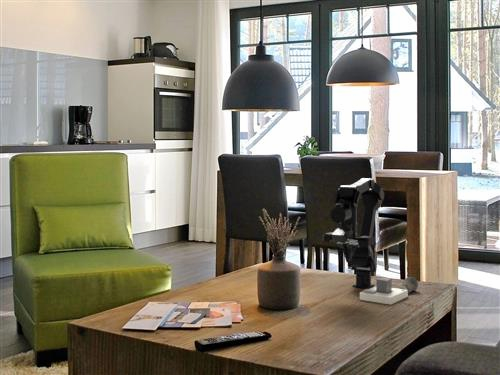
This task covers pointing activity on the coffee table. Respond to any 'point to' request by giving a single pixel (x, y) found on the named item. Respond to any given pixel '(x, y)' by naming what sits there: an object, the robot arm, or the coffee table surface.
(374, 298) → the socket plate
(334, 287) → the coffee table surface
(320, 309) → the coffee table surface
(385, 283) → the plug
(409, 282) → the stone
